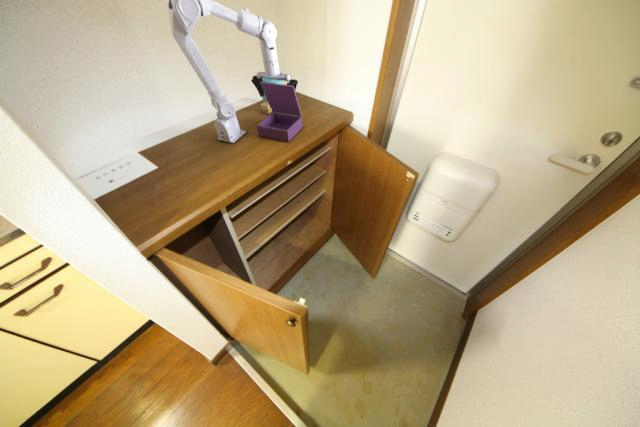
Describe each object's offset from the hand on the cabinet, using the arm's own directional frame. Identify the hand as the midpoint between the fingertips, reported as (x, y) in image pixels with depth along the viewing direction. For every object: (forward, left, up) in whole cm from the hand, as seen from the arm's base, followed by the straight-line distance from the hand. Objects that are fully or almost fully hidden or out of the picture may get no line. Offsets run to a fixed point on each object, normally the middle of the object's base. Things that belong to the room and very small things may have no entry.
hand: (276, 98), depth 95 cm
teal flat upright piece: (+15, +11, -10) cm, 21 cm away
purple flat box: (-8, -5, -10) cm, 14 cm away
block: (+7, +11, -10) cm, 16 cm away
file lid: (-4, -5, +1) cm, 7 cm away
